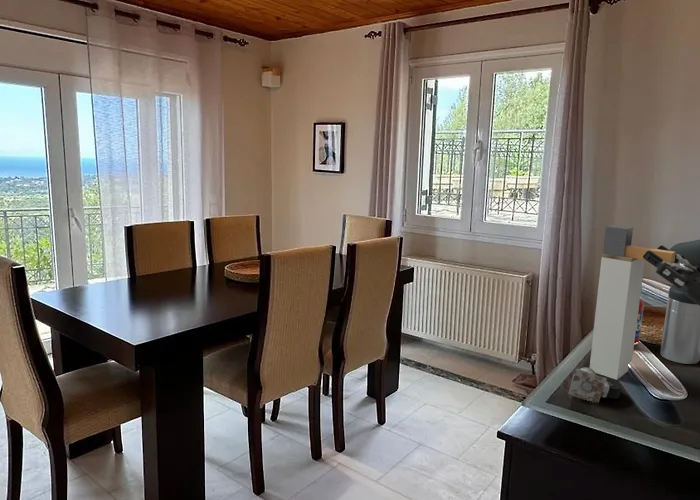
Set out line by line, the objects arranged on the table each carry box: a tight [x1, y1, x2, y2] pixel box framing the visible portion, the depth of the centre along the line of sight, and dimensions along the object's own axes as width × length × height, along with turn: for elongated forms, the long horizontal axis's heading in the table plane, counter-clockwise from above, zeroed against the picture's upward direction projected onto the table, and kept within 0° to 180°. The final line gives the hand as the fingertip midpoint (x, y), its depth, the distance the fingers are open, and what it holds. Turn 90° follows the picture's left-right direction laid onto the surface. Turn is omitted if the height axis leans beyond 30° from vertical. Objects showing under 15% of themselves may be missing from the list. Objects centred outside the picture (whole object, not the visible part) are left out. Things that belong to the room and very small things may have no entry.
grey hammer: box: [602, 224, 676, 263], centre depth 122 cm, size 15×4×7 cm, turn 42°
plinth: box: [589, 253, 646, 380], centre depth 130 cm, size 7×10×32 cm
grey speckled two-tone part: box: [567, 366, 622, 404], centre depth 121 cm, size 7×11×10 cm
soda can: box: [634, 295, 645, 343], centre depth 149 cm, size 8×8×15 cm
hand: (651, 250), depth 120 cm, fingers open, 8 cm apart
